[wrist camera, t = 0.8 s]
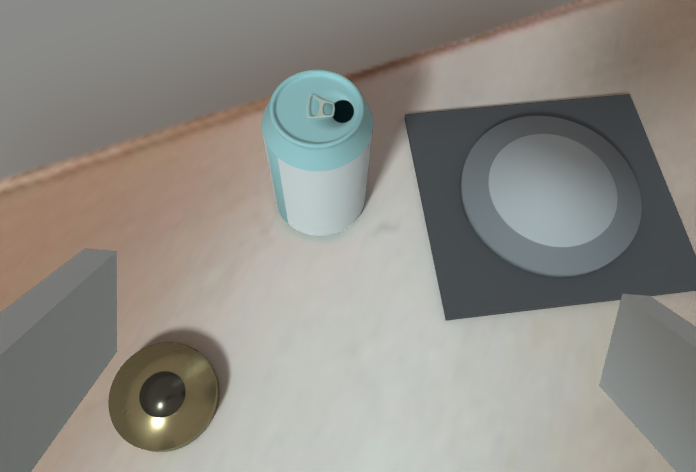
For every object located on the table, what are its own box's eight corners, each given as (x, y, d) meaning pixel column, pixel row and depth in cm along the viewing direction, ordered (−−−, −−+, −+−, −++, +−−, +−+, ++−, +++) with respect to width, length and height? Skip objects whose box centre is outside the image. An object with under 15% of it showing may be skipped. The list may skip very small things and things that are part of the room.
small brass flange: (217, 340, 41) (214, 336, 39) (221, 444, 38) (217, 442, 37) (116, 352, 40) (110, 348, 39) (112, 458, 37) (105, 457, 36)
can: (333, 147, 48) (334, 44, 37) (381, 211, 45) (397, 120, 34) (259, 187, 46) (237, 91, 35) (306, 255, 44) (297, 175, 33)
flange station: (626, 97, 51) (636, 84, 49) (704, 289, 43) (719, 281, 42) (404, 118, 49) (406, 104, 47) (445, 320, 42) (450, 313, 40)
